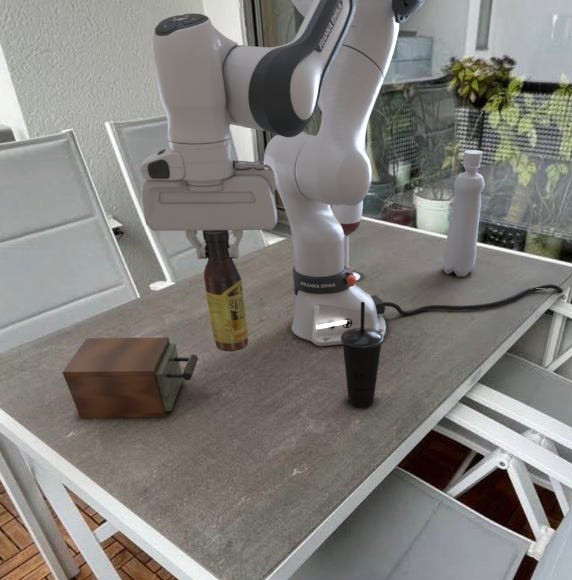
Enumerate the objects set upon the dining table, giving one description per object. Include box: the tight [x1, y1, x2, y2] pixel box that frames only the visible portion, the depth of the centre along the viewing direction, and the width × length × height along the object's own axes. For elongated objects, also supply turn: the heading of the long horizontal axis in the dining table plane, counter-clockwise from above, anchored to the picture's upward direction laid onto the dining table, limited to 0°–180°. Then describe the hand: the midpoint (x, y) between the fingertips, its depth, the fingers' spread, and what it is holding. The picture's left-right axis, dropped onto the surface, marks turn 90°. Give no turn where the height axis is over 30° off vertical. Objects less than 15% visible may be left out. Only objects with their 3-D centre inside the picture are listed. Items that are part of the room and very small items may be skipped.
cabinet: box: [62, 336, 171, 419], centre depth 104 cm, size 16×13×10 cm
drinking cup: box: [341, 302, 384, 409], centre depth 100 cm, size 8×8×20 cm
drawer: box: [155, 342, 199, 412], centre depth 104 cm, size 19×12×8 cm, turn 92°
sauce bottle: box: [202, 230, 249, 353], centre depth 93 cm, size 6×6×20 cm
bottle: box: [441, 149, 486, 278], centre depth 147 cm, size 9×9×30 cm
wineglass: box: [331, 199, 364, 281], centre depth 147 cm, size 8×9×20 cm
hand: (218, 257), depth 89 cm, fingers closed on sauce bottle, 4 cm apart
